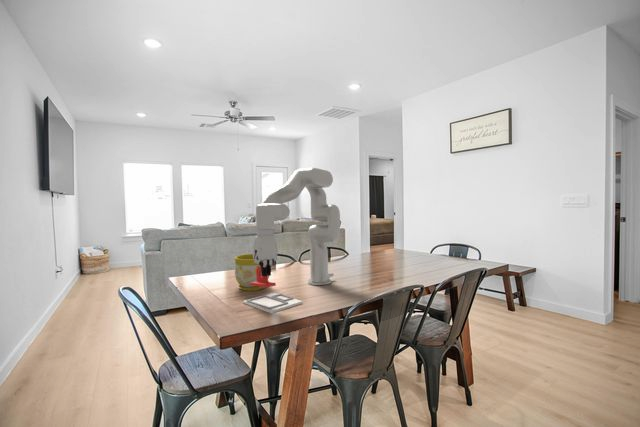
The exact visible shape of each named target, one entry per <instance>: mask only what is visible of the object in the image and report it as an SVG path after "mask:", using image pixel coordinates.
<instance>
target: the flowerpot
mask: <svg viewBox="0 0 640 427" xmlns="http://www.w3.org/2000/svg"><path fill="white" fill-rule="evenodd" d="M233 259H234V261H235V262H234V264H235V265H234V275H235V280H236V281H237V283H238V284H239V285H238V287H239V288H240V290H241V291H247V292H252V291H253V292H255V291H261V290H263V289H265V288H266V287H259V286H252V285H250V283H251V282H255V281H257V277H256V270H257V268H258V267H259V266H260V265H259V264H257V263H254V259H253V253H247V254H246V253H245V254H239V255H236V256H234V258H233ZM261 275H262V274H261ZM269 278H270V276H268V279H269Z"/></svg>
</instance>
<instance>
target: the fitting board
mask: <svg viewBox="0 0 640 427" xmlns="http://www.w3.org/2000/svg"><path fill="white" fill-rule="evenodd" d="M242 303H243V304H245V305H247V306H250V307H253V308H256V309H258V310H261V311H264V312H267V313H270V314H274V313H276V312H280V311H282V310H286V309H288V308H289V309H290V308H292V307H295V306H298V305H302V304H303V301H302V300H299V299H296V298H294V297H293V296H289V295H286V294H283V293H275V292H271V293H269V294H268V293H267V294H263V295H260V296H256V297H253V298H249V299H245V300H243V302H242Z"/></svg>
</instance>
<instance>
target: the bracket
mask: <svg viewBox="0 0 640 427" xmlns="http://www.w3.org/2000/svg"><path fill="white" fill-rule="evenodd" d="M256 277H257V281H255V282H251V283H250V285H252V286H259V287H265V288H271V287H275V286H276V285H277V284H276V282H272V281H269V278H268V274H267V276H266V277H265V276H262V275H261V267H260V266H259V267H258V268H257V270H256Z"/></svg>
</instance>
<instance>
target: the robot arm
mask: <svg viewBox="0 0 640 427" xmlns="http://www.w3.org/2000/svg"><path fill="white" fill-rule="evenodd" d="M333 180H334V177H333V174H332V173H331V171H328V170H327V169H321V168H317V167H306V168H298V169H296V170H294V172H293V173H292V174H291V176H290V177H289V179H288V180H287V181H286V183H284V185H282V187H280V188H278V189H276V190H275V191H273V192H272V193H270V194H269V195H268V196H266V198H264V200H263V201H262V203H261V204H257V205H256V207H255V214H256V215H255V217H256V218H255V219H256V223H255V224H256V236H254V238H253V239H254V241H253V244H252V245H253V248H252V254H253V259H254V263H257V264H259V265H260V267H261V274H262V276H265V277H266V276H267V274H268V276H269V277H271V276H272V267H273V263H274V262H275V261H278V242H277V239H276V238H277V237H276V235H275V233H277V230H276V229H275V221H284V220H286V219H287V218H288V217H289V216H290V214H291V213H290V212H291V211H290V208H289V206H288V205H287V204H285V203H288V202H291V201H294V200H296V199H298V198H299V196H300V195H301V193H302V192H303V190H304V189H305V188H306V189H307V191H308V193H309V197H310V218H311V220H312V221H313V222H317V223H328V224H312V225H310V226H309V228H308V230H307V231H308V232H307V237H308V241H309V254H310V255H309V257H310V258H309V260H310V263H309V264H310V278H309V279H308V280H307V284H309V285H312V286H325V285H330V284H331V283H332V280H331V279H330V278H332V277H334V275H335V274H334V273H333V272H331V273H329V255H328V254H329V251H328V247H327V245H326V243H327V244H334V243H336V244H337V242H339V240H340V236H341V214H340V213H341V212H340V209H339V207H338V206H337V205H336V204H330V203H329V204H328V203H327V202H328V201H327V193H326V192H325V190H324V189H323V188H329V187H331V186H332V184H333V182H334V181H333Z"/></svg>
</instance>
